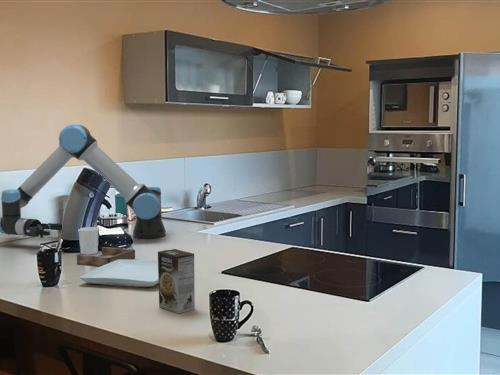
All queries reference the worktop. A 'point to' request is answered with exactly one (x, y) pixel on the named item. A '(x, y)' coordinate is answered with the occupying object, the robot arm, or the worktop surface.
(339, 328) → the worktop surface
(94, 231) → the white cup
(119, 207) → the green pump bottle
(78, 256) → the caddy
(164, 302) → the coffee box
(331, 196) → the worktop surface
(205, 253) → the worktop surface
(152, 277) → the square plate
